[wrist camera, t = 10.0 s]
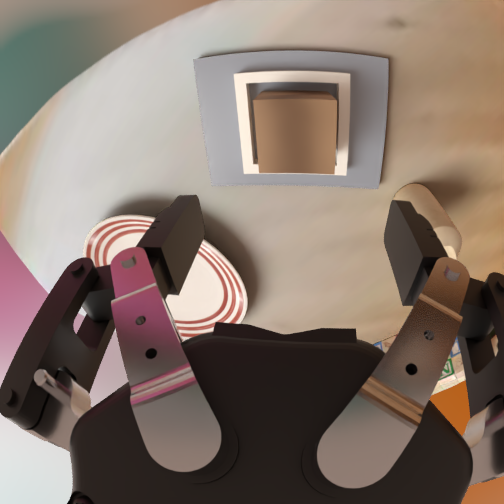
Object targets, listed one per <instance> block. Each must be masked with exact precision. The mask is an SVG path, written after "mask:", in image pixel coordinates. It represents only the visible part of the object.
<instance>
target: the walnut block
mask: <svg viewBox="0 0 504 504" xmlns="http://www.w3.org/2000/svg"><path fill="white" fill-rule="evenodd" d="M253 105H254V117H255V129H256V141H257V154H258V167H259V173H306V174H334V175H335V157H336V131H337V100H336V99H335V98H334V97H333V96H332V95H331V94H330V93H329V92H328V91H299V90H285V91H262V92H261V93H260V94H259V95H258V96H257V97H256V98H255V99H254V100H253Z"/></svg>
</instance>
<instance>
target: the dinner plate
mask: <svg viewBox="0 0 504 504" xmlns="http://www.w3.org/2000/svg"><path fill="white" fill-rule="evenodd" d="M154 220H155V217H150V216H144V215H119V216H114V217H110V218H108V219H105V220H103V221H101V222H99V223H98V224H97V225H95V226H94V227H93V228H92V229H91V231H90V232H89V233H88V235H87V237H86V240H85V243H84V247H83V257H88V258H90V259H92V261H93V263H94V265H95V267H100V266H105V265H109V264H111V261H112V259H113V258H114V257H115V256H116V255H117V254H118V253H119V252H121V251H122V250H125V249H127V248H131V247H136V245H137V244H138V242H139V241H140V239H141V238H142V237H143V235H144V234H145V232H146V231H147V229H149V227H150V225H151V224H152V222H154ZM166 302H167V304H168V307H169V309H170V312H171V314H172V316H173V319H174V321H175V323H176V326H177V328H178V330H179V333H180V335H181V337H182V338H183V339H189V338H191V337H194V336H197V335H200V334H203V333H208V332H213V329H214V326H215V322H224V323H235V324H240V323H241V322H242V320H243V319H244V317H245V314H246V311H247V307H248V297H247V292H246V289H245V286H244V283H243V281H242V279H241V277H240V275H239V274H238V272H237V271H236V269H235V268H234V267H233V265H232V264H231V263H230V262H229V260H228V259H227V258H226V257H225V256H224V255H223V254H222V253H221V252H220V251H219V250H217V249H216V248H215V247H214V246H213V245H211V244H210V243H209V242H207V241H206V240H204V239H203V242H202V244H201V246H200V248H199V250H198V253H197V255H196V257H195V259H194V262H193V264H192V266H191V268H190V271H189V273H188V275H187V278H186V280H185V282H184V284H183V287H182V289H181V292H180V294H179V296H178V295H168V296H167V298H166Z"/></svg>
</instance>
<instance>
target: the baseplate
mask: <svg viewBox="0 0 504 504" xmlns="http://www.w3.org/2000/svg"><path fill="white" fill-rule="evenodd" d="M193 62H194V70H195V77H196V85H197V92H198V99H199V107H200V113H201V120H202V127H203V134H204V140H205V147H206V153H207V160H208V166H209V172H210V178H211V184H212V186H235V185H296V186H329V187H350V188H367V189H378V188H379V182H380V175H381V167H382V159H383V151H384V141H385V131H386V118H387V102H388V59H387V58H381V57H375V56H368V55H360V54H351V53H341V52H327V51H261V52H247V53H236V54H227V55H219V56H212V57H205V58H199V59H193ZM285 90H299V91H328V92H329V93H330V94H331V95H332V96H333V97H334V98H335V99H336V100H337V131H336V157H335V175H334V174H306V173H259V167H258V154H257V141H256V129H255V117H254V105H253V100H254V99H255V98H256V97H257V96H258V95H259V94H260V93H261V92H262V91H285Z"/></svg>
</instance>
